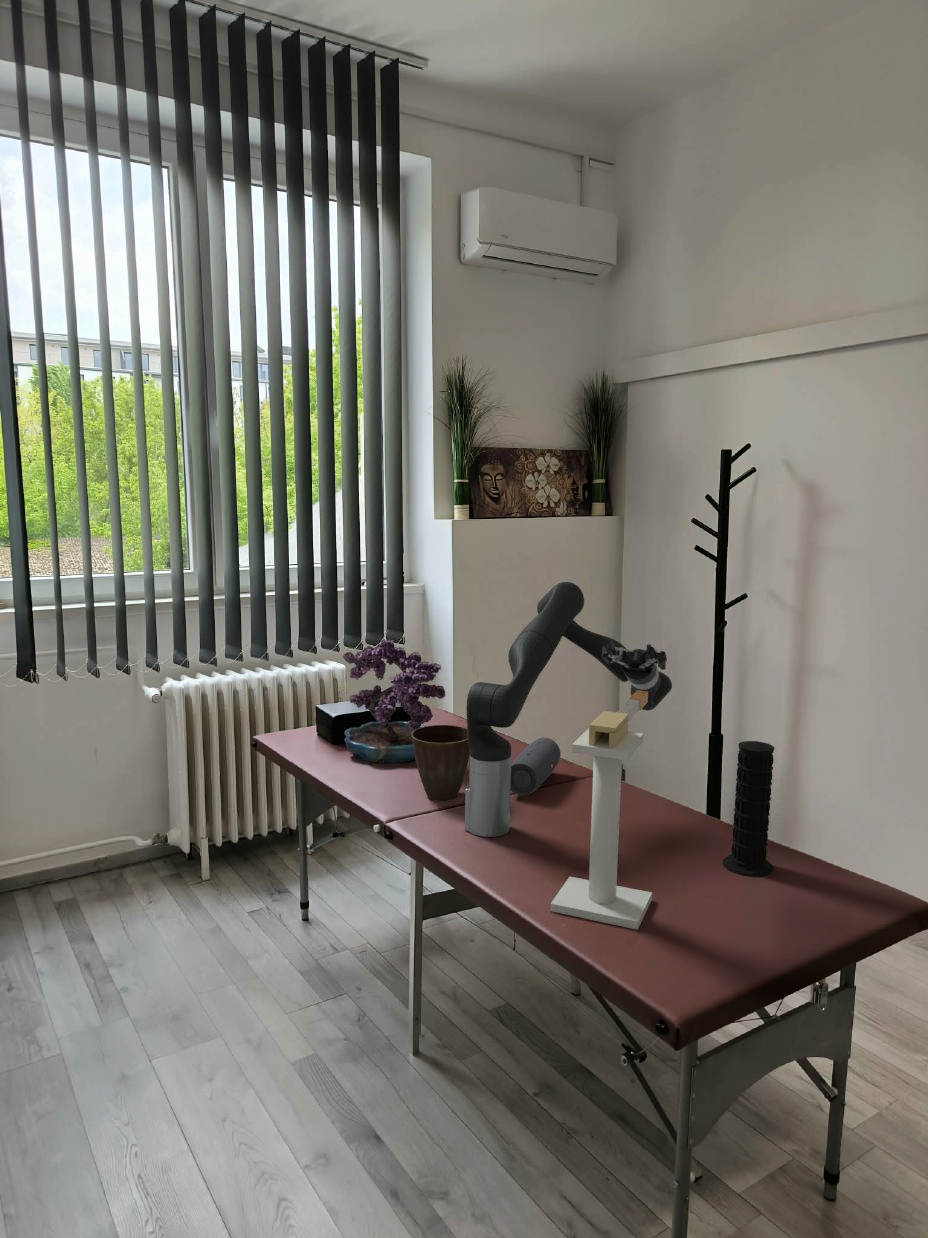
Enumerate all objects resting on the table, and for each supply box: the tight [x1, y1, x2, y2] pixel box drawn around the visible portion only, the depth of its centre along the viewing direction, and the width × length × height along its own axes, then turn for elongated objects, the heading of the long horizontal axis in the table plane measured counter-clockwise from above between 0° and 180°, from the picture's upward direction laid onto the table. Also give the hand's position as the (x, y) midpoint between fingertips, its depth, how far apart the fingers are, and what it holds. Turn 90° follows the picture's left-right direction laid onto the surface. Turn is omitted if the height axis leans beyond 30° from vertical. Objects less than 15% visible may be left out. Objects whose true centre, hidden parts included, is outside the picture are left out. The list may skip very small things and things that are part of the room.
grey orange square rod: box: [616, 690, 648, 723], centre depth 174 cm, size 2×25×2 cm, turn 157°
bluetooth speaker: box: [510, 737, 561, 796], centre depth 227 cm, size 23×9×10 cm, turn 160°
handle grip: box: [722, 740, 776, 878], centre depth 180 cm, size 10×26×10 cm
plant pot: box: [411, 724, 469, 802], centre depth 218 cm, size 15×15×16 cm
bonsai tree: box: [342, 638, 446, 764], centre depth 247 cm, size 35×27×32 cm
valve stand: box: [550, 710, 653, 931], centre depth 162 cm, size 16×12×36 cm
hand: (628, 646), depth 197 cm, fingers open, 8 cm apart
